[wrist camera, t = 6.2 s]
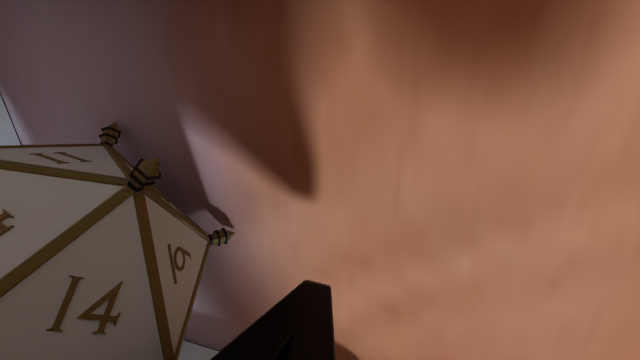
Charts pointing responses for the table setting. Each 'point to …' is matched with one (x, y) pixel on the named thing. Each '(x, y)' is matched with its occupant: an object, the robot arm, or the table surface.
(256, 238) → the table surface
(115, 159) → the game die
